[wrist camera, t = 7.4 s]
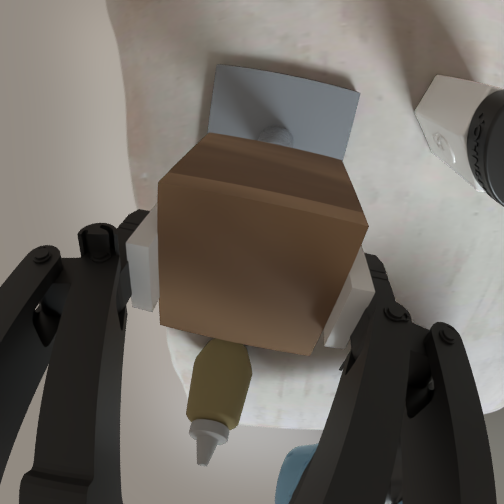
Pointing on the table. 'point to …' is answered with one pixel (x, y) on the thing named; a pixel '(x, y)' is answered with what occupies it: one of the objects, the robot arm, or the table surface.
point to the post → (277, 136)
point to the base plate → (282, 108)
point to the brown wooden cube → (255, 242)
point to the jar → (466, 130)
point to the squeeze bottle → (217, 394)
